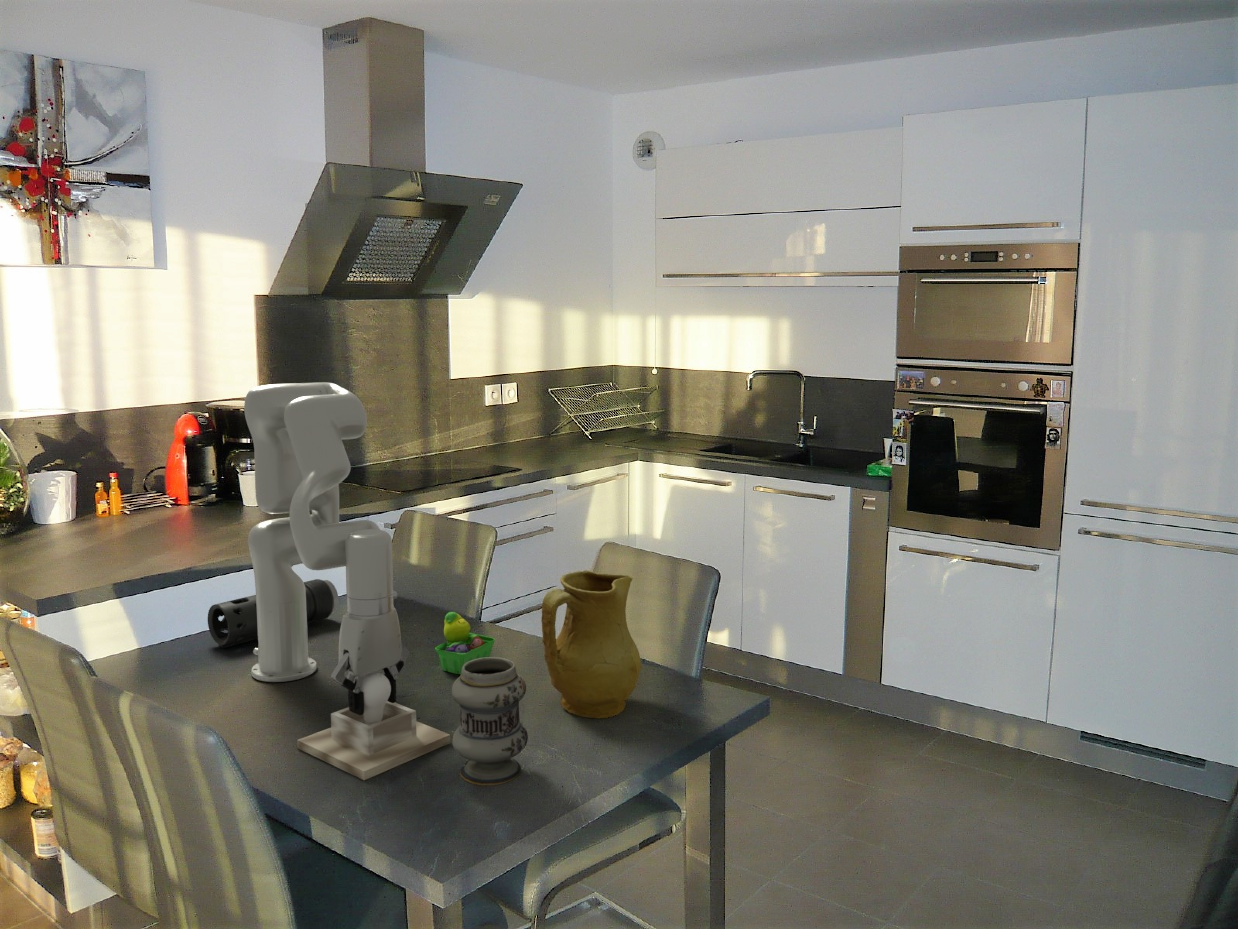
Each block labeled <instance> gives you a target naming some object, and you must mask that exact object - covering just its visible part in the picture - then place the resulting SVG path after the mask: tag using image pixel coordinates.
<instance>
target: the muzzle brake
mask: <svg viewBox="0 0 1238 929" xmlns="http://www.w3.org/2000/svg"><path fill="white" fill-rule="evenodd" d="M303 582H304V585H305V590H306V611H307V627H308V626H309V624H310V623H315V622H318V621H322V620H326V619H328V618H329V617H330V616H331V615H332V614H334V613H336V612H337V610H338V608H339V593H338V591H337V588H336V586H335V584H334V583H333V582H332V581H330V580H328V579H325V580H324V579H323V580H322V579H319V578H317V579H312V580H308V581H303ZM220 617H222V619H221V620H220V619H219V618H220ZM207 627H208V630H209V634H210V635H211V638H212V640H213V641H214V642H215V643H216V644H217V645H218V646H219V647H220V648H222V649H226V648H230V647H233V646H237V645H240V644H244V643H248V642H252V641H255V640H258V626H257V605H256V594H253V595H250V596H245V597H241V598H236V599H233V600H228V601H227V600H226V601H223V602H219V603H215V604H212V605H211V606H210V607H209V610H208V612H207ZM224 631H227V632H224Z"/></svg>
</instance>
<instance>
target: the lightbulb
mask: <svg viewBox="0 0 1238 929" xmlns="http://www.w3.org/2000/svg"><path fill="white" fill-rule="evenodd" d="M360 691H362V692H363V693H364V714H363V716H364V720H365V724H366V725H368V726H370V725H373V724H376V723H378V722H381V720H382V718H383V710H384V707H385V704H386V702H387V700H388V698H389V696H390V693H391V685H390V682H389V680H388V679H387V677H386V676H385V675H384V674H383V673H382V672H379V671H375V672H372V673H369V674H366V675H364V679H363V683H362V686H361V690H360Z"/></svg>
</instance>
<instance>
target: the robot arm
mask: <svg viewBox="0 0 1238 929" xmlns="http://www.w3.org/2000/svg"><path fill="white" fill-rule="evenodd" d="M243 409H244V416H245V421H246V424H247V427H248V430H249V433H250V436H251V439H252V442H253V448H254V457H253V458H254V482H255V483H254V487H255V489H254V490H255V491H254V492H255V500H256V504H257V506H258V509H259V510H261V511H262V512H263V513H266V514H269V515H274V514H275V515H277V514H278V515H280V514H289V516H288V517H282V518H275V519H272V518H271V519H267V520H264V521H261V522H259V523H257V524H255V525H254V526H253V527H252V528H251V529H250V531H249V533H248V536H247V545H248V549H249V555H250V559H251V563H252V568H253V569H252V570H253V575H254V587H255V595H256V605H257V626H258V639H257V642H258V645H257V646H258V647H255V648H253V651H252V653H253V654H254V655H256V656H257V660H258V662H257V663H255V664H254V665H253V666H252V667H251V670H250V671H251V672H250V673H251V674H250V675H251V677H253V678H254V679H256V680H258V681H260V682H268V683H283V682H291V681H296V680H300V679H304V678H306V677H309V676H310V675H312V674H313V673H314V672H316V671H317V661H316V660H315V659H313V658H311V657H309V645H308V644H309V643H308V641H309V640H308V626H307V611H306V590H305V585H304V582H305V581H304V580H303V579H302V578H301V577H300V576H299V575H298V574H297V573H296V572H295V571H294V570H293V567H294V566H297V565H301V564H303V565H304V566H305V567H306V568H307V569H309V570H311V571H325V570H331V569H337V568H343V567H344V568H345V582H346V583H345V586H346V587H345V588H346V612H347V613H345V614H343V615H342V619H341V622H340V629H339V638H338V652H337V653H338V655H337V656H338V663H337V664H336V667H335V668H334V669H333V672H332V673H331V675H330V677H331V679H332V680H334V681H336V682H337V683H338V684H339V685H340V686H341V687H343V688H344V689H345V690H347V696H348V699H347V700H348V701H347V702H348V707H349V710H350V711H351V712H353V713H355V714H358V715H363V714H364V693H363V692H362V691H360V690H361V686H362V683H363V679H364V675H366V674H369V673H372V672H379V671H382V674H383V675H385V676H386V677H387V679H388V680H389V682H390V685H391V693H390V696H389V698H388V700H387V701H388V702H391V703H397V680H398V679H399V677H400V673H401V670H402V669H403V668H404V665H405V663H406V661H407V659H408V658H409V657H410V655H411V652H410V651H409V650H408V648H406V647H405V646H404V645H403V644H402V636H401V628H400V621H399V616H398V612H397V609H396V608H395V606H394V600H395V599H398V592H397V591H396V590H394V580H393V576H394V575H393V574H394V573H393V572H394V571H393V567H394V566H393V541H392V540H393V539H392V537H391V534H390V533H388V532H387V531H385V530H383V529H380V527H379V525H377V524H376V523H375V522H374V521H372V520H367V519H361V520H352V521H342V522H340V485H339V484H341V483H342V482H343V481H345V479H346V478H348V476H349V475H350V472H351V468H352V467H351V462H350V459H349V457H348V454H347V451H346V449H345V445H344V443H343V440H353V439H358V438H361V437H362V436H363V435H364V434H365V432H366V430H367V426H368V416H367V412H366V408H365V407H364V404H363V403H362V401H361V400H360V398H359V397H358V396H357V395H356V394H354V393H353V392H352V391H350V390H348V389H346V388H345V387H343V386H340V385H338V384H336V383H334V382H326V381H325V382H324V381H323V382H322V381H321V382H300V383H298V382H297V383H296V382H294V383H293V382H292V383H290V382H289V383H273V384H264V385H263V384H262V385H259V386H255V387H253V388H252V389H250V390H248V392H247V394H246V395H245V399H244V408H243ZM310 511H311V512H310ZM346 672H348V673H347V676H346V675H345V673H346Z"/></svg>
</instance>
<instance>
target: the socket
mask: <svg viewBox="0 0 1238 929" xmlns="http://www.w3.org/2000/svg"><path fill="white" fill-rule="evenodd" d="M330 726H331V727H329V728H326V729H323V730H321V731H317V732H315V733H312V734H309V735H307V736H304V737H301V738H299V739H297V749H298V750H300V751H302V752H304V753H306V754H309V755H311V756H312V757H315V758H317V759H319V760H321V761H324V762H325V763H328V764H330V765H332V766H334V767H336V768H337V769H339V770H341V771H344V772H346V773H348V774H350V775H352V776H355V777H356V778H358V779H360V780H363V781H366V780H369V779H371V778H373V777H375V776H377V775H379V774H382V773H385V772H387V771H388V770H391V769H393V768H396V767H399V766H401V765H403V764H405V763H407V762H411V761H412V760H413V759H416V758H418V757H422V756H423V755H426V754H427V753H430V752H433V751H435V750H437V749H439V748H441V747H442V748H443V746H447V745H448V744H450V743H451V734H449V733H447V732H445V731H442V730H439V729H437V728H435V727H432V726H430V725H427V724H424V723H423V722H419V721H418V720H417V710H415V709H412V708H410V707H407V706H405V705H402V704H399V703H397V702H395V703H391V702H388V701H387V702H386V704H385V707H384V710H383V718H382V720H381V722H378V723H376V724H373V725H370V726H368V725H366V724H365V720H364V716H363V715H358V714H355V713H353V712H351V711H350V710H349V706H347V707H345V708H343V709H340V710H337V711H334V712H332V713H330Z"/></svg>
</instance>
